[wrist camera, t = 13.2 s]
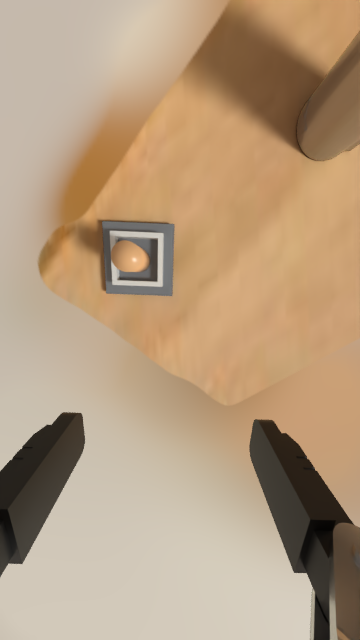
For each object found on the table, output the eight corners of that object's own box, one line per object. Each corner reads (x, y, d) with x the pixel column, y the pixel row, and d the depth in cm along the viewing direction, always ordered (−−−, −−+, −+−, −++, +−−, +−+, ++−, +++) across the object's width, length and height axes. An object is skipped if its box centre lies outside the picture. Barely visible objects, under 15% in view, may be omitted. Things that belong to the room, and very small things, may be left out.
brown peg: (150, 248, 32) (140, 240, 24) (150, 272, 33) (141, 272, 25) (127, 247, 32) (110, 239, 24) (127, 271, 33) (111, 271, 25)
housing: (174, 226, 32) (173, 221, 30) (172, 295, 35) (171, 297, 33) (104, 223, 32) (98, 218, 29) (108, 292, 35) (103, 294, 32)
